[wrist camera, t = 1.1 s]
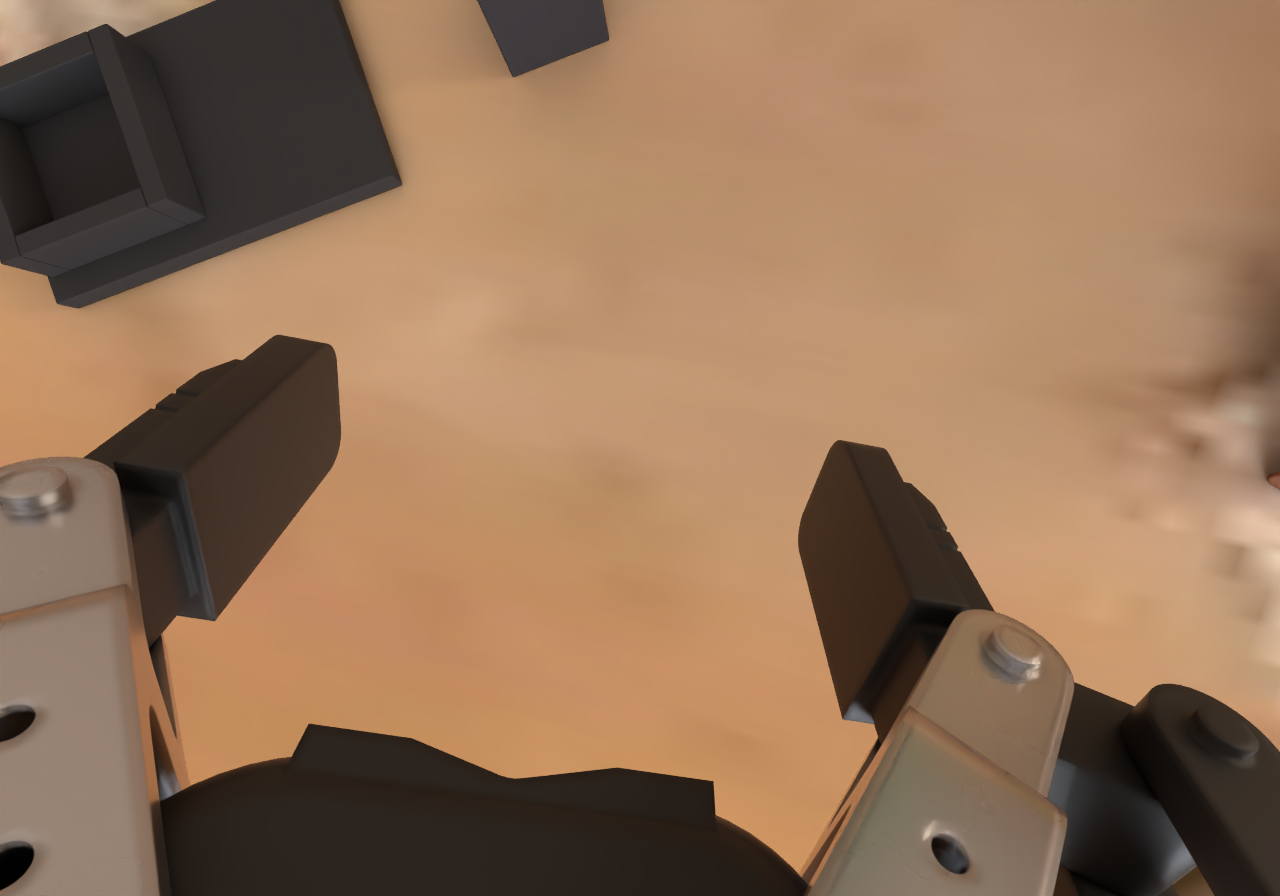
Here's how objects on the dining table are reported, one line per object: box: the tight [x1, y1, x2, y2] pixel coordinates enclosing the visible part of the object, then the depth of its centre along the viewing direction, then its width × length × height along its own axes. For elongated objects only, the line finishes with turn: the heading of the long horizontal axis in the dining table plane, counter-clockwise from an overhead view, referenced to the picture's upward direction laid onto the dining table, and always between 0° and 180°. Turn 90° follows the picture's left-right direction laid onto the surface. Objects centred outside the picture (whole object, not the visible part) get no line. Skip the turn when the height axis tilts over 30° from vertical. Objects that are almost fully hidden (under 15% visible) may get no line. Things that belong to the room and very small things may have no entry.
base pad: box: [0, 0, 402, 308], centre depth 31 cm, size 18×11×4 cm, turn 109°
